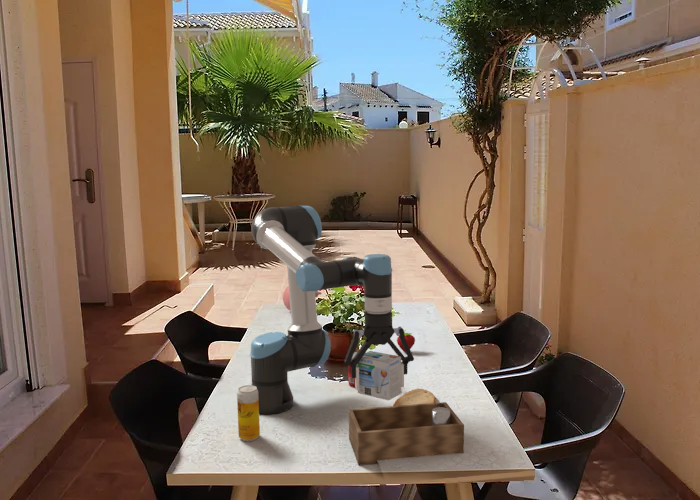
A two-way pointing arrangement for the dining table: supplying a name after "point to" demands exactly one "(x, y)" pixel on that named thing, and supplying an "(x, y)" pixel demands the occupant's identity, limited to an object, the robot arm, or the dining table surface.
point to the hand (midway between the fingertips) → (379, 387)
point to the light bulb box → (380, 375)
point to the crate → (402, 433)
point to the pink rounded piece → (287, 297)
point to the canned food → (350, 379)
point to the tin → (440, 416)
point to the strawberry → (409, 339)
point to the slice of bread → (415, 398)
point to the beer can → (248, 413)
